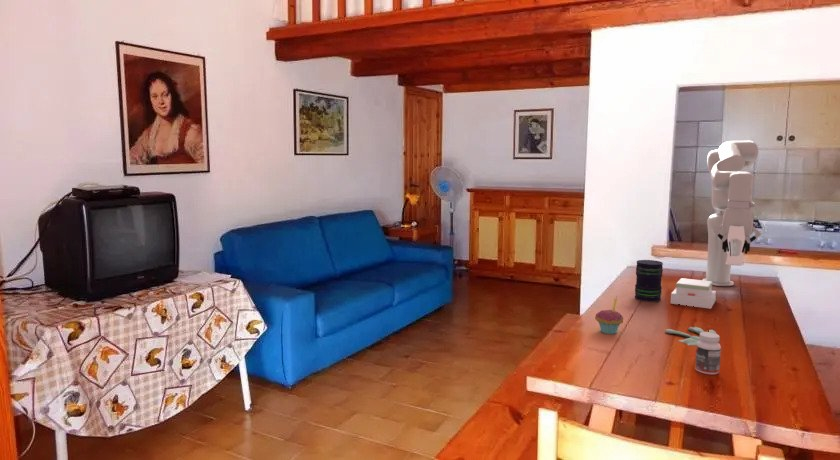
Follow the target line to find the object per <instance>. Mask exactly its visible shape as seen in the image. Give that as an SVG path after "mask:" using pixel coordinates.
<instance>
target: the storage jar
mask: <svg viewBox="0 0 840 460" xmlns="http://www.w3.org/2000/svg"><path fill="white" fill-rule="evenodd" d="M663 265H664V262H662V261H659V260H654V259H653V260H652V259H651V260H650V259H639V260H636V265H635V267H636V268H635V275H636V278H635V279H636V280H635V286H634V299H636V300H638V301H641V302H647V303H649V302H650V303H654V302H655V303H656V302H660V301H661V300H662V298H661V297H662V289H663V287H662V277H663V271H664V269H663Z"/></svg>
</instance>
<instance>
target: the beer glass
mask: <svg viewBox="0 0 840 460" xmlns="http://www.w3.org/2000/svg"><path fill="white" fill-rule="evenodd" d="M726 242H727V252H728V254H727V260H726V264H728V265H731V266H744V265H745V263H744V262H745V261H744V254H745V244H746V236H745V232H744V226H731V225H730V228H729V231H728V234H727V238H726Z"/></svg>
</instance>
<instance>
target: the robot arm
mask: <svg viewBox="0 0 840 460" xmlns="http://www.w3.org/2000/svg"><path fill="white" fill-rule="evenodd" d="M758 155H759V146H758V144H757V143H756V142H755V141H752V140H729V141H725V142H723V143H721V145H719V147H718V149H714V150H710V151H709V152H708V153H707V158H706V159H707V160H706V161H707V162H706V164H707V168H708V171H709V175H710V180H711V207H712V208H713V209H714V210H715V211H721V212H722V213H720V212H719V213H713V214H711V215H709V216H708V218H707V220H706V221H707V222H706V223H707V224H706V225H707V235H708V239H707V241H708V244H707V258H706V270H705V271H706V273H705V275H706V277H705V278H704V277H703V278H702V280H704V281H712V282H713V285H712V286H717V287H730V286H734V281H733V280H731V268H732V265H728V264H726V260H727V254H728V252H727V242H726V238H727V234H728V231H729V228H730V225H731V226H744V232H745V236H746V244H745V249H744V254H746V255H747V254H748V252H750V248H751V243H753V242H754V241H755V240H756V239H758V238H759V237H760V236H761V235H762V233H761V232H760V231H759V229H757V228H756V226H754V210H753V209H754V207H756V203H755V202H754V201H753V195H752V189H753V187H754V185H755V177H754V176H753V174H752V173H751V172H749V171H742V170H743V169H749V168H751V166H753V164H754V163H755V162H756V160H757V159H758ZM753 233H755V234H754V235H753V236H752V237H751V235H752V234H753Z"/></svg>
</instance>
